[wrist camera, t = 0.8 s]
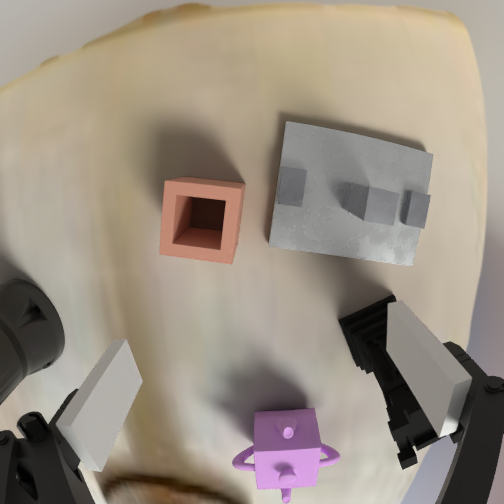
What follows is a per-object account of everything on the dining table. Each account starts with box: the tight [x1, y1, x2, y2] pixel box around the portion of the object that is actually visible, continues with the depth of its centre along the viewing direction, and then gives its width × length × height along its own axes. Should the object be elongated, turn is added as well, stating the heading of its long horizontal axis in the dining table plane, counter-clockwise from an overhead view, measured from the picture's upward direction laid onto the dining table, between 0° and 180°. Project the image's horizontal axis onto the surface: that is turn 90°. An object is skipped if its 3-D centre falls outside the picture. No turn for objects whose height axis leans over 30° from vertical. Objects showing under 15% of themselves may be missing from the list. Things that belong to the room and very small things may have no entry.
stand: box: [268, 121, 433, 266], centre depth 31 cm, size 18×14×10 cm
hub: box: [160, 177, 245, 264], centre depth 33 cm, size 7×7×8 cm
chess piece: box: [339, 295, 464, 470], centre depth 31 cm, size 8×8×20 cm
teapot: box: [232, 408, 340, 503], centre depth 40 cm, size 15×13×11 cm
